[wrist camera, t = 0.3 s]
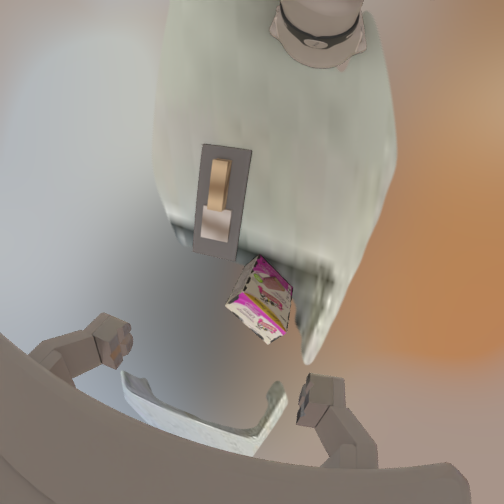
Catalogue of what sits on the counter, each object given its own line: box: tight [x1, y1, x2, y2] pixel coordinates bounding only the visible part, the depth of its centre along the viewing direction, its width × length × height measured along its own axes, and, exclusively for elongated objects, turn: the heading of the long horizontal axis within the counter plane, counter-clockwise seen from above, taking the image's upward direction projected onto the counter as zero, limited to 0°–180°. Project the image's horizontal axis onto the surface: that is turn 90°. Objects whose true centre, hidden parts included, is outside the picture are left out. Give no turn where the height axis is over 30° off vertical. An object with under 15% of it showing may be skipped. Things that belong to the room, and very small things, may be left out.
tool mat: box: [193, 144, 252, 262], centre depth 57 cm, size 24×10×1 cm, turn 171°
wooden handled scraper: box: [201, 158, 233, 242], centre depth 55 cm, size 17×6×3 cm, turn 171°
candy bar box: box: [225, 254, 293, 344], centre depth 54 cm, size 11×5×16 cm, turn 45°
